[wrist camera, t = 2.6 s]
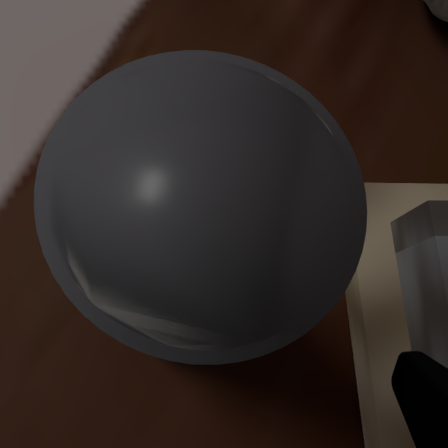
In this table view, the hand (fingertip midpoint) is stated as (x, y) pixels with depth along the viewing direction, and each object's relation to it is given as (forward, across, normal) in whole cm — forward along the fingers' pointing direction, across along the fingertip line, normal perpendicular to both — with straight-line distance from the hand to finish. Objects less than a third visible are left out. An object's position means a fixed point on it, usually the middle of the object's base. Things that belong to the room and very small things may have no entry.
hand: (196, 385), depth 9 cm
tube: (+9, 0, +5) cm, 11 cm away
